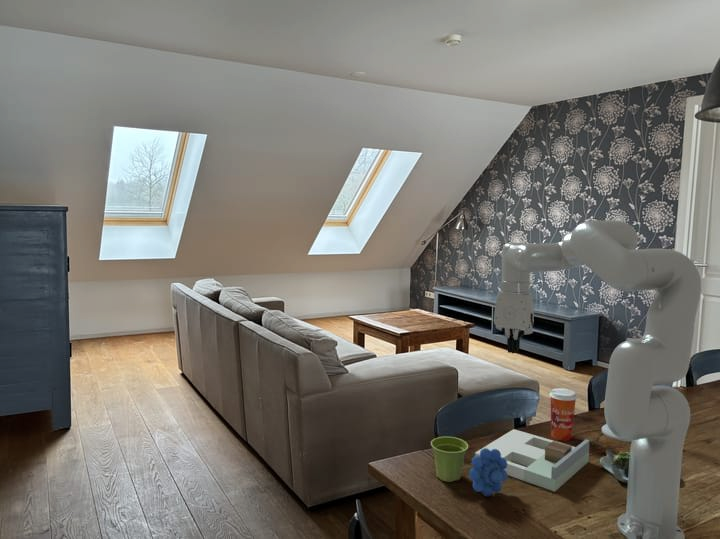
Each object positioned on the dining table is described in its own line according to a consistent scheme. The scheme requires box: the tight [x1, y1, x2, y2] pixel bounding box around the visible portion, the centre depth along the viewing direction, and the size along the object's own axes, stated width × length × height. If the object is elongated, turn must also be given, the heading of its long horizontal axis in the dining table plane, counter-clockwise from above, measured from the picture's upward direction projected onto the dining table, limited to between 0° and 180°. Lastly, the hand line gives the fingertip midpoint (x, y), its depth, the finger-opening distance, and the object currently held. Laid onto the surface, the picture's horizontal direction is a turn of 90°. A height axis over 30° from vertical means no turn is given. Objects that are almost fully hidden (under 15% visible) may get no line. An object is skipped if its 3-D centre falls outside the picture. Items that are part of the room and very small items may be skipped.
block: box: [545, 440, 573, 463], centre depth 146 cm, size 5×5×4 cm
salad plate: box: [599, 448, 630, 486], centre depth 146 cm, size 19×18×5 cm
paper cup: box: [549, 387, 578, 442], centre depth 167 cm, size 8×8×14 cm
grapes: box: [468, 447, 509, 497], centre depth 131 cm, size 12×7×12 cm, turn 120°
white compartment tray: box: [474, 428, 590, 493], centre depth 150 cm, size 22×22×6 cm
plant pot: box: [430, 436, 469, 483], centre depth 142 cm, size 9×9×9 cm
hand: (513, 352), depth 157 cm, fingers closed
